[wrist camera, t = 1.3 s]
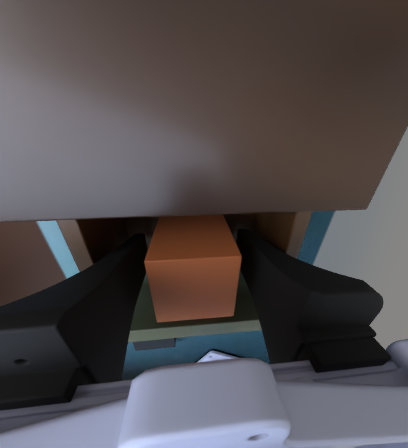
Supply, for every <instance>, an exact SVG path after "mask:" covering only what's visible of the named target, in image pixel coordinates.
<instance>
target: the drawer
mask: <svg viewBox="0 0 408 448" xmlns="http://www.w3.org/2000/svg"><path fill="white" fill-rule="evenodd" d="M312 212H313V211H308V212H279V213H251V214H223V216H224V218H225V220H226V222H227V225H228V227H229V229H230V231H231V233H232V236H233V238H234V240H235V242H236V240H237V231H238V229H247V230H249V231H251V232H252V233H254V234H255V235H257V236H258V237H259V238H261V239H262V240H264V241H265V242H267V243H269V244H270V245H272V246H273V247H275V248H277V249H279V250H280V251H282V252H284V253H286V254H288V255H290V256H292V257H294V258H296V259H297V257H298V254H299V251H300V248H301V245H302V242H303V239H304V236H305V233H306V230H307V227H308V224H309V221H310V218H311V215H312ZM158 219H159V217H137V218H108V219H80V220H56V221H57V223H58V226H59V228H60V230H61V232H62V234H63V236H64V239H65V241H66V243H67V245H68V247H69V250H70V252H71V254H72V256H73V258H74V261H75V263H76V265H77V267H78V269H79V271H80V272H81V271H83V270H85V269H86V268H88V267H90V266H91V265H93V264H95V263H96V262H98V261H99V260H101V259H102V258H104V257H105V256H107V255H108V254H109V253H111V252H112V251H113V250H115V249H116V248H117V247H119V246H120V245H121V244H123V243H124V242H125V241H126V240H128V239H129V238H130V237H131V236H133V235H134V234H138V233H145V238H146V243H147V248H148V249H149V246H150V243H151V240H152V237H153V234H154V231H155V228H156V225H157V222H158ZM255 330H262V329H261V325H260V322H259V318H258V315H257V312H256V308H255V305H254V302H253V299H252V296H251V294H250V291H249V289H248V286H247V284H246V282H245V279H244V277H243V275H242V272H241V270H240V274H239V281H238V288H237V295H236V303H235V310H234V316H228V317H216V318H204V319H192V320H181V321H169V322H157V320H156V316H155V311H154V306H153V301H152V296H151V292H150V287H149V282H148V277H147V273H146V275H145V278H144V281H143V284H142V287H141V290H140V293H139V296H138V299H137V302H136V306H135V310H134V315H133V319H132V324H131V329H130V334H129V339H128V342H137V341H148V340H159V339H169V338H180V337H191V336H202V335H212V334H223V333H234V332H244V331H255Z"/></svg>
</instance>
